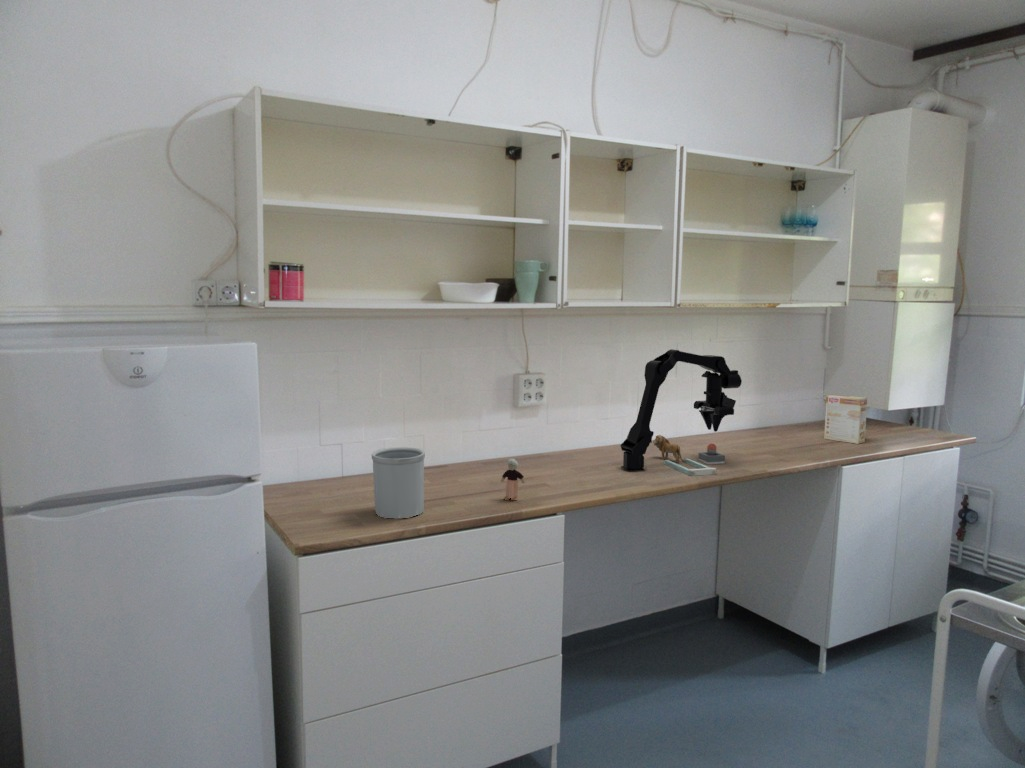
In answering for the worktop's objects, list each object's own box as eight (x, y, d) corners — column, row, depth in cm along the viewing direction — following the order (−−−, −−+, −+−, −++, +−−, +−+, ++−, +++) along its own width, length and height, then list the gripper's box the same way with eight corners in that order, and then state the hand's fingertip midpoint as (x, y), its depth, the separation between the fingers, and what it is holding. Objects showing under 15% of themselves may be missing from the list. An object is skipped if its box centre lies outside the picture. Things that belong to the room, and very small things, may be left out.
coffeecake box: (865, 442, 312) (868, 397, 310) (858, 444, 308) (861, 398, 305) (830, 437, 323) (833, 393, 321) (823, 439, 319) (825, 395, 316)
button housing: (708, 464, 269) (708, 456, 268) (698, 460, 275) (698, 452, 275) (724, 463, 271) (725, 455, 270) (714, 459, 277) (714, 451, 277)
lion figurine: (650, 458, 279) (650, 435, 278) (659, 456, 282) (659, 433, 281) (681, 464, 268) (681, 441, 267) (690, 462, 271) (690, 439, 270)
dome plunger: (710, 455, 270) (710, 444, 270) (705, 453, 274) (705, 443, 273) (718, 454, 271) (718, 444, 271) (713, 452, 275) (713, 442, 274)
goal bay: (690, 476, 251) (691, 470, 251) (664, 464, 269) (664, 458, 269) (716, 474, 254) (716, 468, 253) (688, 462, 272) (688, 457, 271)
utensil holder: (409, 523, 197) (408, 459, 195) (362, 516, 202) (361, 455, 200) (434, 508, 211) (434, 449, 209) (390, 503, 216) (389, 445, 214)
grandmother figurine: (499, 500, 219) (499, 459, 218) (501, 497, 223) (501, 457, 221) (524, 501, 218) (524, 460, 216) (525, 498, 222) (526, 457, 220)
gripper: (747, 391, 263) (745, 433, 265) (719, 385, 281) (717, 425, 283) (720, 392, 260) (719, 435, 262) (693, 386, 278) (692, 426, 279)
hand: (712, 430), depth 271 cm, fingers open, 4 cm apart
